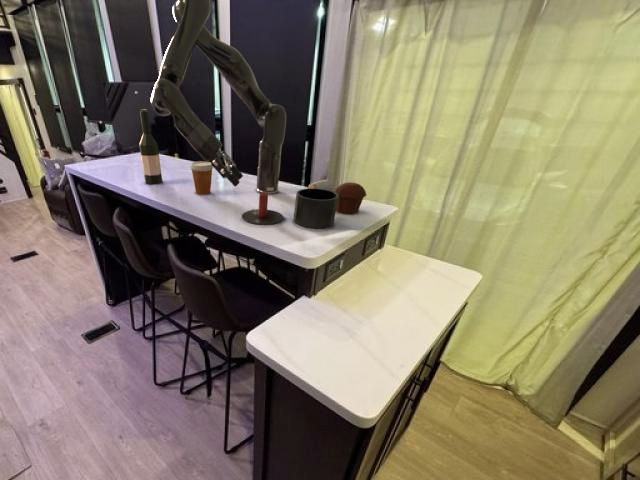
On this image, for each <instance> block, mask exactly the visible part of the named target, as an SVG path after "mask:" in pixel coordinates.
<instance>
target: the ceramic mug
mask: <svg viewBox="0 0 640 480" xmlns="http://www.w3.org/2000/svg"><path fill="white" fill-rule="evenodd" d="M308 188H317V189H326V190H330V191H333V192H334V187H333V184H332V182H331V181H330V180H329V179H322V180H318V181H314V182H311V183H310V184H309V185H308V186H307V189H308Z"/></svg>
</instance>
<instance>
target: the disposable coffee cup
mask: <svg viewBox="0 0 640 480" xmlns="http://www.w3.org/2000/svg"><path fill="white" fill-rule="evenodd" d="M211 163H212V162H210V161H208V162H206V161H194V162H191V164H190V167H189V168H190V170H191V173H192V179H193V185H194V189H195V190H194V191H195V194H196V195H199V196H205V195H210V194H211V189H212V178H213V177H212V176H213V169H214V167H213V166H212V165H211Z"/></svg>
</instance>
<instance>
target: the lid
mask: <svg viewBox="0 0 640 480" xmlns="http://www.w3.org/2000/svg"><path fill="white" fill-rule="evenodd" d="M268 203H269V194H265V193H259V195H258V208H257V209H250V210H246V211H245V212H243V213H242V214H241V218H242V220H243V221H244V222H246V223H249V224H251V225H257V226H272V225H277V224H279V223H281V222H283V220H284V216H283V214H282V213H281V212H278V211H276V210H273V209H268Z"/></svg>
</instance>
